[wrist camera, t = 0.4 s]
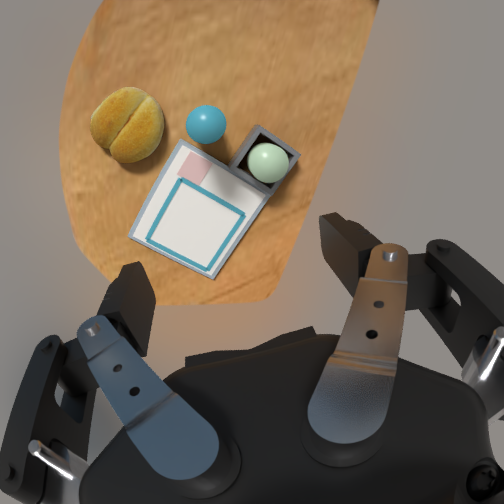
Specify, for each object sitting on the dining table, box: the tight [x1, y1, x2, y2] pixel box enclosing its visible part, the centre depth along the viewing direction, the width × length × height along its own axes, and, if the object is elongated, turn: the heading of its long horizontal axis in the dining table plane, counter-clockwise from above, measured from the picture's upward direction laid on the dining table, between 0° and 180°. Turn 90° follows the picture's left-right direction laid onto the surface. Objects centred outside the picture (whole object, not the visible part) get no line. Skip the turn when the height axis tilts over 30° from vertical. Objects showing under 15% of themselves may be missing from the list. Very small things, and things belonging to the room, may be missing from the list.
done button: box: [247, 143, 289, 183], centre depth 31 cm, size 4×4×2 cm
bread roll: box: [90, 87, 164, 163], centre depth 27 cm, size 8×9×4 cm
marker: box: [186, 105, 226, 144], centre depth 26 cm, size 3×3×10 cm
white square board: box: [127, 139, 271, 279], centre depth 35 cm, size 14×13×1 cm
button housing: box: [227, 125, 301, 196], centre depth 32 cm, size 6×6×2 cm
